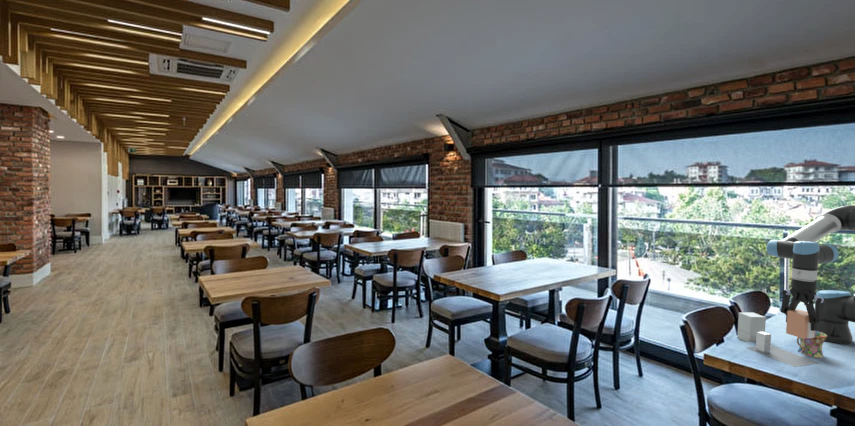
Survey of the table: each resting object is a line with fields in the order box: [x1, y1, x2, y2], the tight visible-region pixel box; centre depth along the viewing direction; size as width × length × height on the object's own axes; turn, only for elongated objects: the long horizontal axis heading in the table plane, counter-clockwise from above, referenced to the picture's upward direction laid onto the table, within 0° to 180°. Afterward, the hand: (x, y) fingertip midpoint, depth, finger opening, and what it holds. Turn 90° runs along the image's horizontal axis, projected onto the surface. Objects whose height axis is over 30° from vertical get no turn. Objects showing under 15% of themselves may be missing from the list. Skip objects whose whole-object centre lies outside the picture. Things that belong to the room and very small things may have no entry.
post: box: [755, 331, 772, 353], centre depth 170 cm, size 3×3×8 cm
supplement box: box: [736, 311, 767, 343], centre depth 186 cm, size 7×7×13 cm
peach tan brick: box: [785, 309, 815, 339], centre depth 161 cm, size 6×6×10 cm
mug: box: [796, 331, 827, 358], centre depth 168 cm, size 12×9×11 cm
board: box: [746, 344, 821, 368], centre depth 167 cm, size 14×19×2 cm
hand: (800, 334), depth 162 cm, fingers closed on peach tan brick, 6 cm apart
